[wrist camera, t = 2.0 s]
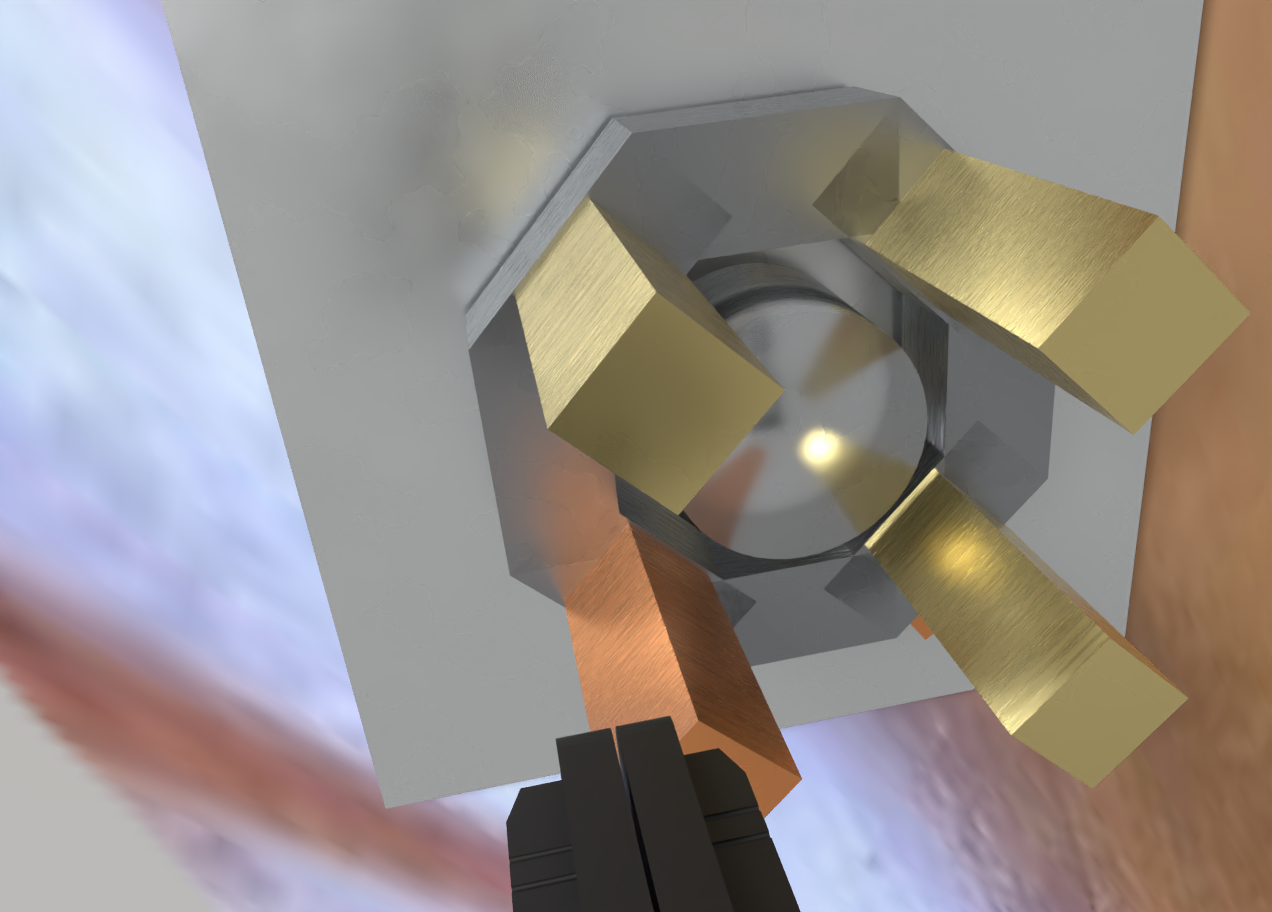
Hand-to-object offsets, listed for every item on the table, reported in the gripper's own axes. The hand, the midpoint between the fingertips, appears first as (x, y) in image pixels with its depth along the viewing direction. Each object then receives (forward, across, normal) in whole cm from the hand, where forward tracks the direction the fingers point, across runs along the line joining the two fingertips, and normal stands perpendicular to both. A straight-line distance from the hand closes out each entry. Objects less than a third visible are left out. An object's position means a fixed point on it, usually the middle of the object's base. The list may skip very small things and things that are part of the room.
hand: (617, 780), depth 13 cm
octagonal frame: (+12, -5, 0) cm, 13 cm away
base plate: (+14, -5, 0) cm, 14 cm away
